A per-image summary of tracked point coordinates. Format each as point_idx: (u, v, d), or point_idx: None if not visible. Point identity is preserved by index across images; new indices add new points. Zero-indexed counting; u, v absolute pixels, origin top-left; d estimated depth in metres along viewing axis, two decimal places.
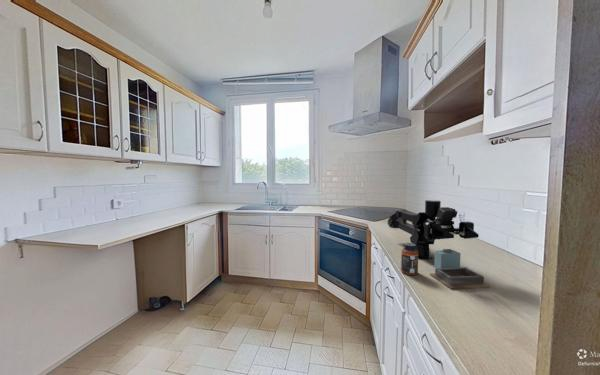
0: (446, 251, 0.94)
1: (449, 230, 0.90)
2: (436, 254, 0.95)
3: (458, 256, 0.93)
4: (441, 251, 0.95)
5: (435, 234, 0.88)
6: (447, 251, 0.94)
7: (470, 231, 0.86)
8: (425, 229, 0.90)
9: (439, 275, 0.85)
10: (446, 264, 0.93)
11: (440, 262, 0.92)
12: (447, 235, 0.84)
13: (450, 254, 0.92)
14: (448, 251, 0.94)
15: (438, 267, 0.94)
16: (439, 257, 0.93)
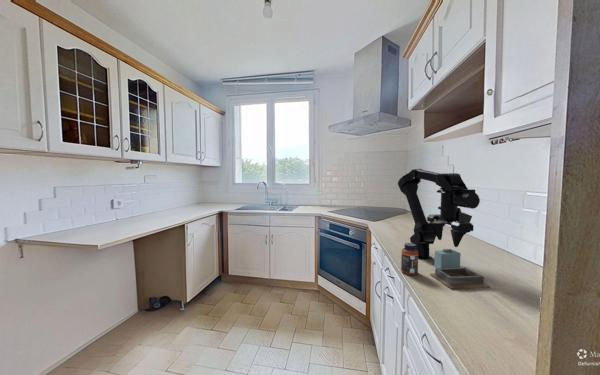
0: (446, 251, 0.94)
1: None
2: (436, 254, 0.95)
3: (458, 256, 0.93)
4: (441, 251, 0.95)
5: None
6: (447, 251, 0.94)
7: (441, 231, 0.99)
8: (468, 227, 0.84)
9: (439, 275, 0.85)
10: (446, 264, 0.93)
11: (440, 262, 0.92)
12: (457, 242, 0.89)
13: (450, 254, 0.92)
14: (448, 251, 0.94)
15: (438, 267, 0.94)
16: (439, 257, 0.93)
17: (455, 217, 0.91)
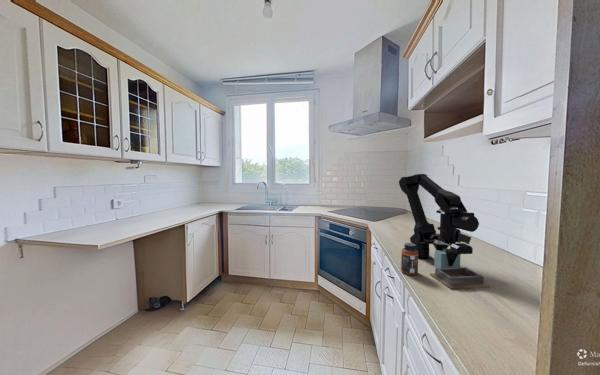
0: None
1: None
2: (436, 254, 0.95)
3: (458, 256, 0.93)
4: (441, 251, 0.95)
5: None
6: None
7: None
8: (467, 250, 0.85)
9: (439, 275, 0.85)
10: (446, 264, 0.93)
11: (441, 261, 0.92)
12: (452, 261, 0.92)
13: None
14: None
15: (438, 267, 0.94)
16: (439, 256, 0.93)
17: (454, 239, 0.91)
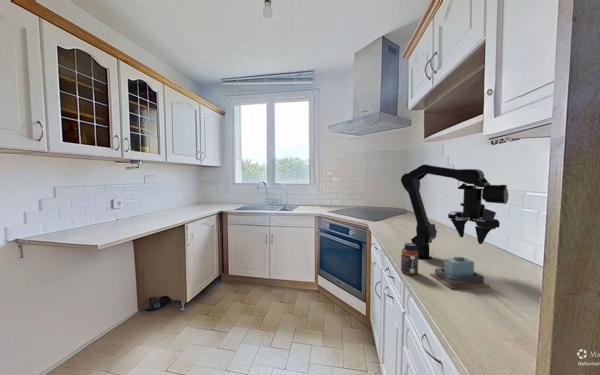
0: (458, 259, 0.83)
1: None
2: (446, 263, 0.84)
3: (471, 265, 0.82)
4: (452, 259, 0.84)
5: None
6: (459, 259, 0.83)
7: (463, 228, 0.97)
8: (494, 224, 0.83)
9: (439, 275, 0.85)
10: (457, 275, 0.82)
11: (452, 271, 0.82)
12: (482, 239, 0.87)
13: (462, 263, 0.82)
14: (460, 259, 0.83)
15: None
16: (449, 266, 0.83)
17: (479, 214, 0.89)
